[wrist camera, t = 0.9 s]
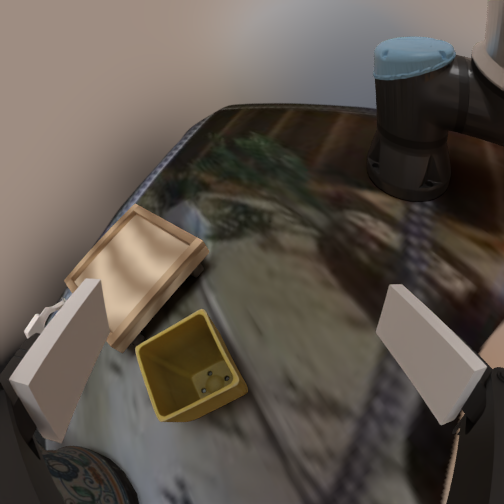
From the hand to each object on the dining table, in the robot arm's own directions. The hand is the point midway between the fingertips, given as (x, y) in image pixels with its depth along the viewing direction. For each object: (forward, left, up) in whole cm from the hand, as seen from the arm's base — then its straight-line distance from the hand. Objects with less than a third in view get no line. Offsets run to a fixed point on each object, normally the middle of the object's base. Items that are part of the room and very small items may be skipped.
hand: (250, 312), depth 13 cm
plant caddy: (+1, -29, -22) cm, 36 cm away
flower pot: (+5, -9, -22) cm, 24 cm away
